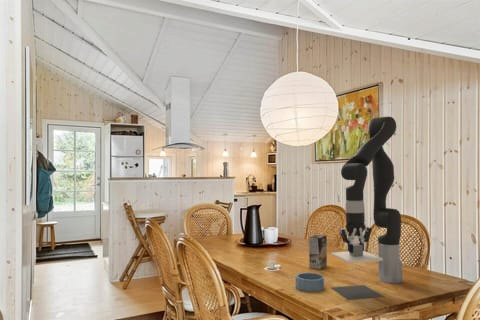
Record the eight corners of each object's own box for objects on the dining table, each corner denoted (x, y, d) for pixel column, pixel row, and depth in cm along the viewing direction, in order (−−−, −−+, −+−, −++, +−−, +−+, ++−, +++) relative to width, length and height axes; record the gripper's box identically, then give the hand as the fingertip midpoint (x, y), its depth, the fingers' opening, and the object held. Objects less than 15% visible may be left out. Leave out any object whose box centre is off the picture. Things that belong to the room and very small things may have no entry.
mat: (364, 286, 165) (364, 284, 165) (385, 298, 149) (385, 296, 149) (330, 288, 161) (330, 287, 161) (348, 301, 146) (348, 299, 146)
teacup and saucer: (280, 267, 200) (279, 259, 200) (282, 271, 192) (282, 263, 192) (263, 267, 199) (263, 260, 199) (265, 271, 191) (264, 263, 191)
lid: (363, 252, 164) (362, 240, 165) (382, 260, 150) (382, 247, 150) (331, 254, 161) (331, 242, 162) (348, 262, 147) (347, 249, 147)
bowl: (317, 283, 170) (317, 271, 170) (328, 291, 158) (328, 279, 158) (292, 284, 167) (292, 273, 168) (301, 293, 156) (301, 281, 156)
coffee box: (320, 269, 193) (319, 238, 193) (309, 267, 197) (308, 237, 197) (327, 265, 200) (326, 235, 201) (316, 264, 204) (315, 234, 205)
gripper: (365, 209, 161) (366, 249, 161) (335, 210, 158) (336, 251, 158) (375, 211, 154) (376, 253, 153) (343, 212, 151) (344, 255, 151)
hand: (356, 252), depth 156 cm, fingers closed on lid, 4 cm apart
